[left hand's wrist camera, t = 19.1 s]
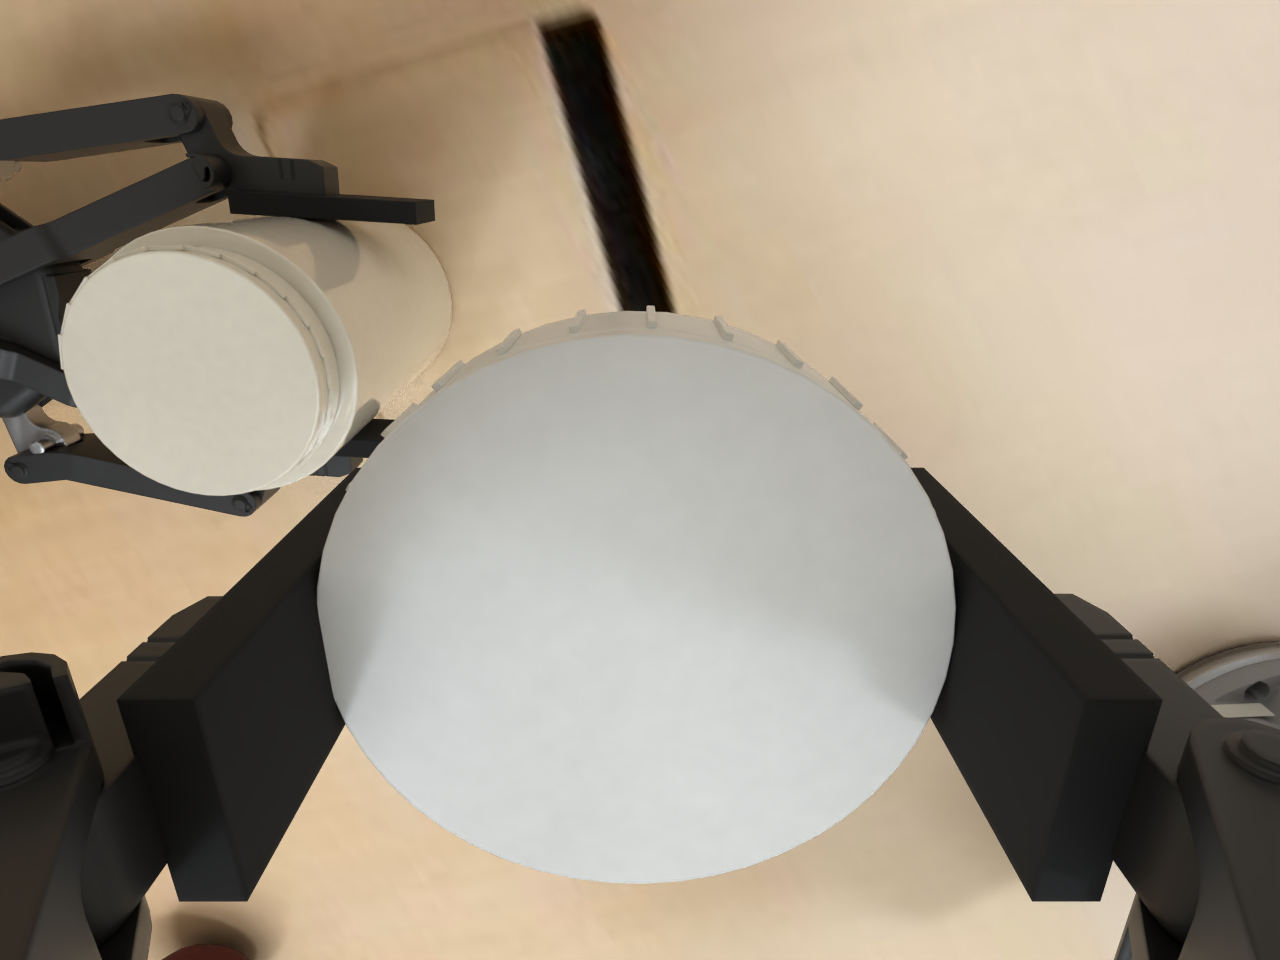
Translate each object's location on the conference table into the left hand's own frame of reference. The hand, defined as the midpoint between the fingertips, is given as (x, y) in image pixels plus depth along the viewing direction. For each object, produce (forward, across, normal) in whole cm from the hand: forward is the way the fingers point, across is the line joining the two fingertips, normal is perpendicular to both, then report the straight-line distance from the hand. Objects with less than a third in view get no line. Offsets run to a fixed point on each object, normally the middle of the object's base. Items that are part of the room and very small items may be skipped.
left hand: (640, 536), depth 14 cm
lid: (-3, 0, 0) cm, 3 cm away
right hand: (+17, +8, -1) cm, 19 cm away
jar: (+23, +13, -1) cm, 27 cm away
